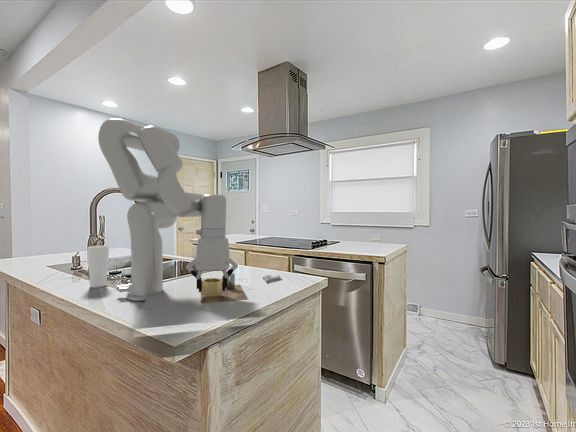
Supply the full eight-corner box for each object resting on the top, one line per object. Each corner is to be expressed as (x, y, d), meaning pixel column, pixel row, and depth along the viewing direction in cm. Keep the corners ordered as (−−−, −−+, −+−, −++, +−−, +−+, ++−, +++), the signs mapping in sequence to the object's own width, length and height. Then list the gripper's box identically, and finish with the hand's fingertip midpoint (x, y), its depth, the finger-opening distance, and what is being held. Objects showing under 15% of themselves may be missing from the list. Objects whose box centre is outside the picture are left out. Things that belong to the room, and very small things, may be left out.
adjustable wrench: (247, 294, 106) (247, 289, 105) (233, 292, 108) (233, 287, 108) (282, 279, 128) (282, 275, 128) (269, 277, 131) (269, 273, 131)
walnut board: (201, 308, 89) (201, 303, 89) (200, 291, 107) (200, 287, 107) (248, 304, 94) (248, 299, 93) (240, 289, 111) (240, 284, 111)
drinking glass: (90, 284, 116) (90, 245, 115) (110, 283, 118) (110, 245, 117) (85, 289, 109) (84, 247, 109) (106, 288, 111) (105, 247, 111)
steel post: (226, 290, 104) (226, 275, 104) (225, 287, 107) (225, 273, 107) (235, 289, 105) (235, 274, 104) (234, 287, 108) (234, 273, 108)
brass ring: (201, 296, 91) (201, 283, 91) (200, 290, 98) (201, 278, 98) (223, 295, 93) (223, 282, 93) (221, 289, 100) (221, 277, 100)
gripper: (183, 235, 89) (182, 295, 89) (242, 235, 94) (241, 292, 94) (184, 232, 96) (183, 288, 97) (239, 232, 101) (237, 286, 102)
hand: (211, 289), depth 95 cm, fingers closed on brass ring, 6 cm apart
